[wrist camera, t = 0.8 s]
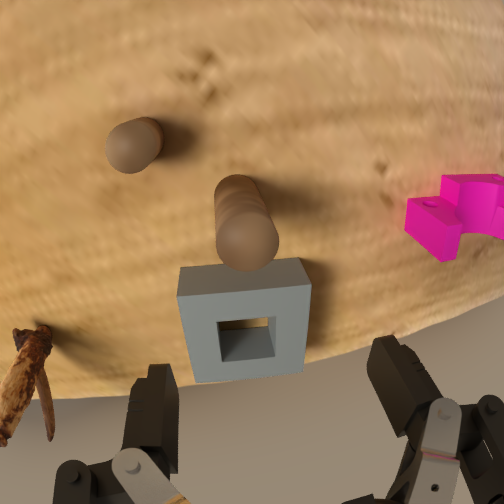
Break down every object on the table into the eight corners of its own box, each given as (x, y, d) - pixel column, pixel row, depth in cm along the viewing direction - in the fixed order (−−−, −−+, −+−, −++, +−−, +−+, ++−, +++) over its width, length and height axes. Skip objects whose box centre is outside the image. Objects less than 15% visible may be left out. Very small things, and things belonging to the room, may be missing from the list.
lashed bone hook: (80, 361, 37) (47, 477, 21) (56, 365, 37) (20, 473, 21) (42, 308, 32) (-18, 427, 16) (18, 315, 32) (-40, 424, 17)
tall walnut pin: (257, 173, 28) (279, 212, 20) (258, 214, 30) (278, 268, 22) (212, 176, 28) (213, 217, 19) (215, 217, 30) (218, 274, 21)
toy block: (495, 173, 31) (536, 193, 25) (488, 217, 34) (525, 242, 28) (408, 175, 30) (451, 200, 24) (403, 229, 33) (440, 262, 27)
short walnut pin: (162, 114, 25) (153, 118, 21) (166, 158, 27) (158, 170, 23) (118, 121, 25) (102, 126, 21) (123, 164, 26) (108, 176, 22)
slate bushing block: (298, 257, 33) (311, 284, 29) (293, 342, 39) (302, 372, 34) (180, 267, 32) (176, 296, 28) (196, 352, 38) (195, 383, 33)
